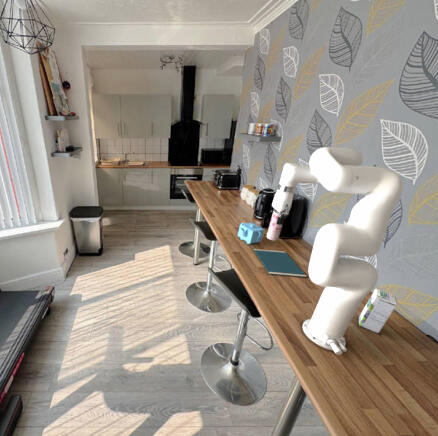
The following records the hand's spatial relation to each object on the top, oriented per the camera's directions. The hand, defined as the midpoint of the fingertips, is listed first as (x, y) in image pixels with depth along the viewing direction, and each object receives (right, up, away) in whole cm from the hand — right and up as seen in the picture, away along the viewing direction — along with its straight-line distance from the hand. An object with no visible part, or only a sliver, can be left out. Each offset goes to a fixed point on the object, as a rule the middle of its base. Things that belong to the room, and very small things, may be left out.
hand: (276, 221), depth 123 cm
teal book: (+3, -22, +4) cm, 23 cm away
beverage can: (0, -9, +4) cm, 10 cm away
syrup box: (+16, -39, -34) cm, 54 cm away
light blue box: (-4, -13, +26) cm, 29 cm away
